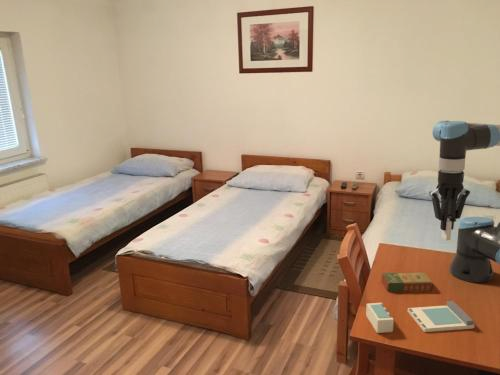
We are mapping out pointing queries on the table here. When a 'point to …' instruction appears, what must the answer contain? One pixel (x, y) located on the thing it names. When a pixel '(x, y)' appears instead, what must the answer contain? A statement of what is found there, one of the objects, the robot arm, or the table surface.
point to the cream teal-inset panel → (441, 317)
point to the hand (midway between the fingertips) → (446, 238)
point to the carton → (406, 281)
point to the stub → (379, 317)
